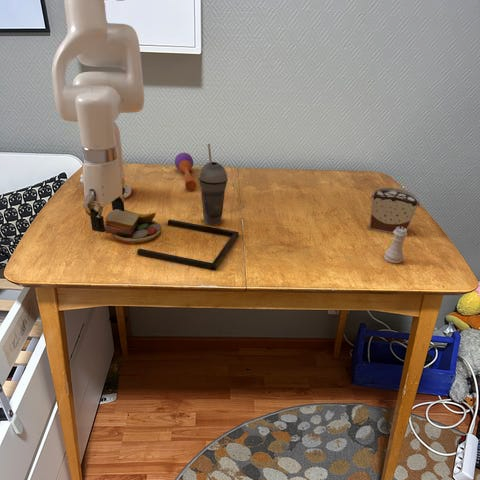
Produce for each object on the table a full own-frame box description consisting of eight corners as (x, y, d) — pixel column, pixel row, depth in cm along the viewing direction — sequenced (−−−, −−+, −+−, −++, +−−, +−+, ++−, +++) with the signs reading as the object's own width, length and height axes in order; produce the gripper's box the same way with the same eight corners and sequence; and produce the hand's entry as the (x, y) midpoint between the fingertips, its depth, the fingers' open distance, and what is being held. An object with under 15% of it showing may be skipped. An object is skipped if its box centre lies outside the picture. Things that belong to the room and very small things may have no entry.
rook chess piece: (380, 255, 114) (388, 224, 109) (398, 255, 114) (407, 224, 109) (386, 264, 110) (395, 233, 105) (405, 264, 110) (414, 233, 106)
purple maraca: (179, 178, 137) (172, 151, 151) (183, 196, 141) (176, 169, 156) (198, 174, 137) (190, 148, 152) (202, 192, 141) (193, 165, 156)
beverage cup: (222, 229, 121) (224, 150, 109) (195, 225, 122) (194, 147, 110) (229, 217, 126) (231, 141, 114) (202, 214, 127) (202, 138, 115)
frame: (137, 254, 108) (137, 250, 107) (169, 223, 122) (169, 219, 121) (214, 270, 104) (215, 265, 103) (238, 236, 118) (239, 231, 117)
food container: (412, 227, 127) (422, 191, 121) (410, 236, 123) (421, 200, 116) (366, 218, 130) (374, 183, 124) (363, 227, 125) (371, 191, 119)
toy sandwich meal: (150, 248, 111) (149, 229, 108) (97, 239, 113) (94, 221, 110) (168, 225, 121) (167, 208, 118) (119, 218, 123) (117, 201, 120)
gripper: (105, 141, 114) (113, 207, 124) (63, 162, 100) (76, 234, 110) (133, 145, 112) (139, 212, 122) (94, 167, 99) (104, 240, 109)
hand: (109, 223), depth 116 cm, fingers open, 9 cm apart
